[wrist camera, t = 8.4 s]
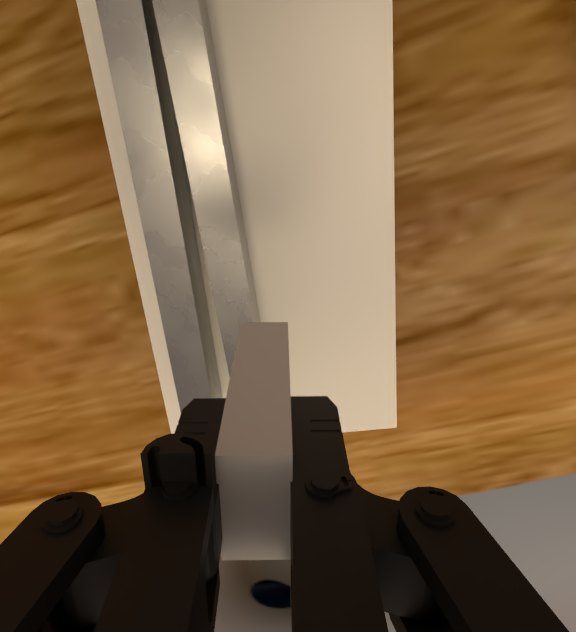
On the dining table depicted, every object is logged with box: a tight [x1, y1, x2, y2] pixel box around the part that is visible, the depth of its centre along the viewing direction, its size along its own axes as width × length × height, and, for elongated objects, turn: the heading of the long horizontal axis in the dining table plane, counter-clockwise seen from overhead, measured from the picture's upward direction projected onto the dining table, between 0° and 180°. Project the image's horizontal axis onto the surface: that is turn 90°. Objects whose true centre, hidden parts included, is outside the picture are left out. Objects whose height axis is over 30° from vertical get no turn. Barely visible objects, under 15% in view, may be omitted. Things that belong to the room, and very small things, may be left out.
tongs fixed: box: [95, 0, 222, 412], centre depth 26 cm, size 28×4×4 cm, turn 5°
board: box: [76, 0, 397, 434], centre depth 29 cm, size 34×16×1 cm, turn 5°
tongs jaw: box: [152, 0, 261, 376], centre depth 27 cm, size 24×2×4 cm, turn 8°
